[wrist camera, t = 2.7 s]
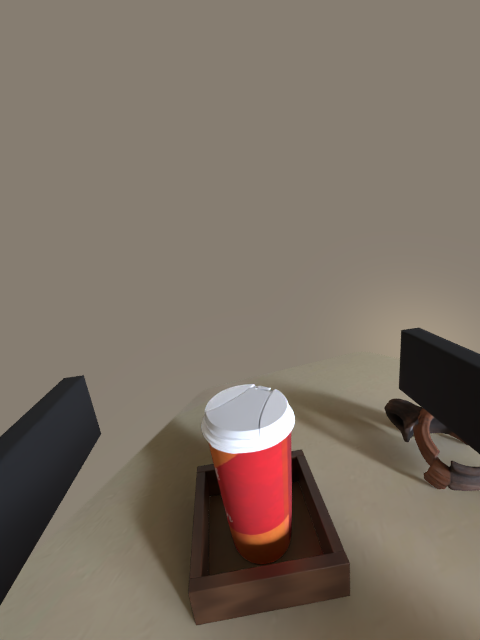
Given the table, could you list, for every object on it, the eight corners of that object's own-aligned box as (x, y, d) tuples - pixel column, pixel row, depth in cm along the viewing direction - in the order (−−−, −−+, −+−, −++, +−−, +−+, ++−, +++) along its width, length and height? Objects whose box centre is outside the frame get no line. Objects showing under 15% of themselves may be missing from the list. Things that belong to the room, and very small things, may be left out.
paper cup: (249, 486, 32) (234, 375, 28) (315, 517, 28) (308, 391, 24) (204, 550, 26) (177, 420, 22) (280, 601, 22) (263, 451, 18)
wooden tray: (195, 625, 21) (188, 593, 20) (201, 491, 33) (197, 466, 32) (350, 596, 22) (349, 563, 21) (303, 474, 33) (301, 449, 32)
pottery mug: (501, 452, 33) (534, 423, 28) (474, 528, 30) (506, 513, 24) (394, 398, 41) (402, 366, 35) (362, 454, 37) (365, 429, 31)
